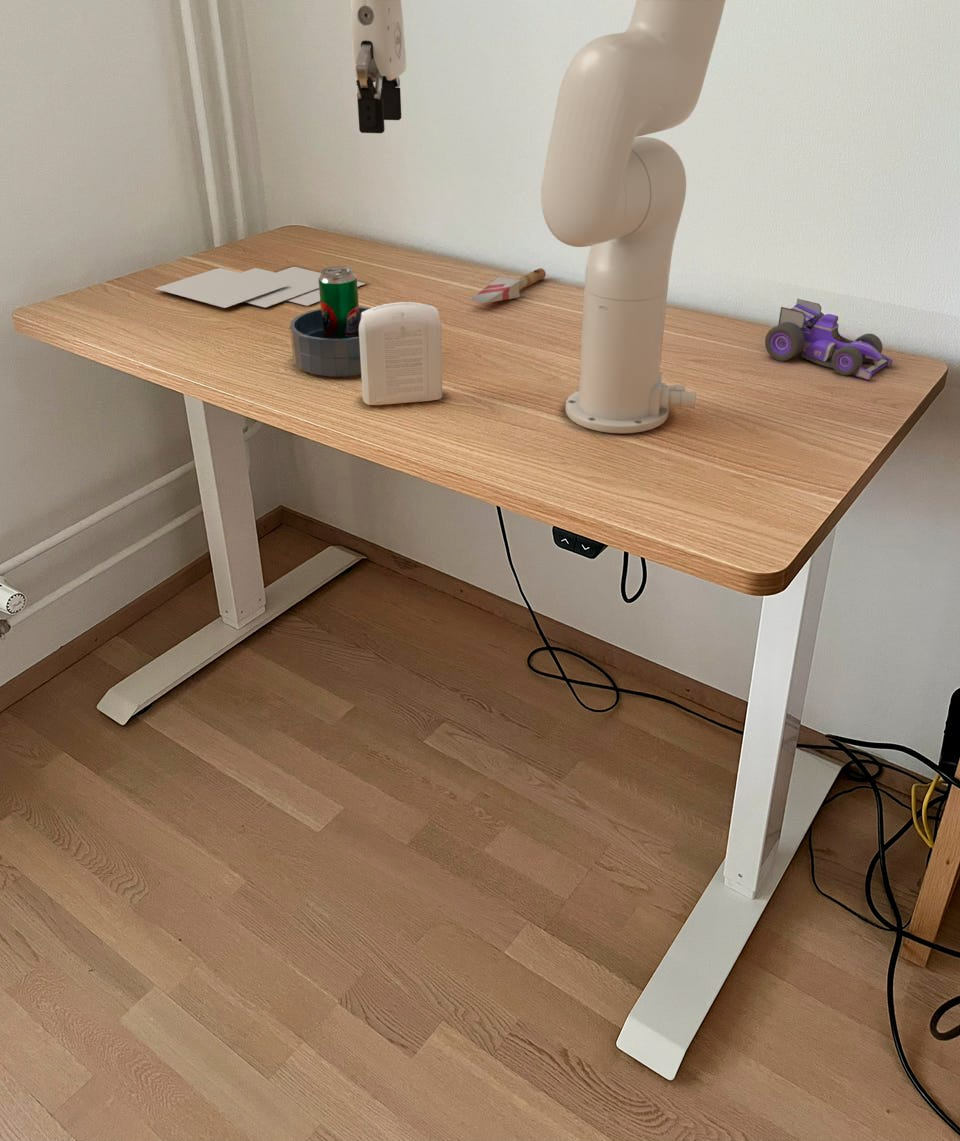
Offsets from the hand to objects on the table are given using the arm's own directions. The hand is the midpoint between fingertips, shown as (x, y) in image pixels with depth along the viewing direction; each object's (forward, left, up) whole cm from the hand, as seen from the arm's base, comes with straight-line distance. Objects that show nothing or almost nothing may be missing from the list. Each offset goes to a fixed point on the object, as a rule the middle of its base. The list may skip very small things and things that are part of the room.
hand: (381, 125), depth 135 cm
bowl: (+4, +12, -28) cm, 31 cm away
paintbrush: (-15, -20, -28) cm, 38 cm away
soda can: (+4, +12, -28) cm, 31 cm away
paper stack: (+26, -17, -28) cm, 42 cm away
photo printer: (-7, +24, -28) cm, 38 cm away
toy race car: (-62, +2, -28) cm, 68 cm away
